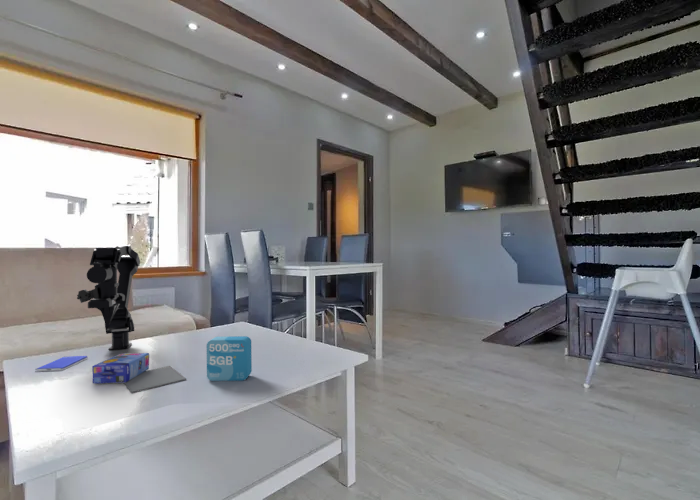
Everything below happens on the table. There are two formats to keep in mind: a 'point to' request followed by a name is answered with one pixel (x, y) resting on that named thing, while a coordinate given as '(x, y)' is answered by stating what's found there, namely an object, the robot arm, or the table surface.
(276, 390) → the table surface
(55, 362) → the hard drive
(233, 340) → the data package
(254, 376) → the table surface
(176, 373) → the mat
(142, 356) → the ink cartridge box
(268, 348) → the table surface
